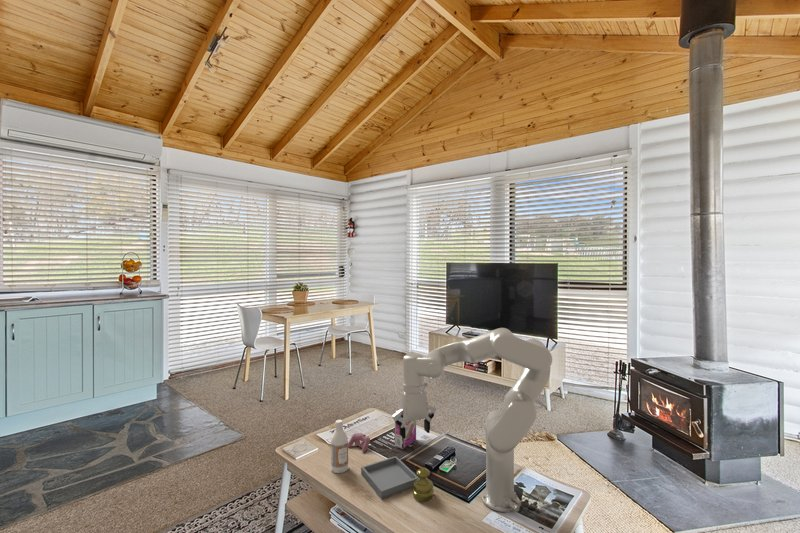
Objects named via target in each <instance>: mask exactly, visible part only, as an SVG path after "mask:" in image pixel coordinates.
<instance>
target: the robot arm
mask: <svg viewBox="0 0 800 533" xmlns="http://www.w3.org/2000/svg"><path fill="white" fill-rule="evenodd" d="M496 356H497V357H499V358H501V359H503V360H504V361H507V362H510V363H512V364H514V365H516V366H517V365H518V366H519V367H521V368H523V370H522V372H521V374H520V375H519V377H518V379H517V380H516V382H514V384H513V385H512V387H510V389H509V390H508V392H507V393H506V394H505V396H504V399H503V400H504V401H503V403H504V404H503V405H504V410H501V409H494V410H492V411H490V413H488V415H486V418H485V422H484V423H485V452H486V453H485V454H486V455H485V471H486V472H485V473H486V474H485V475H486V477H485V481H486V482H485V483H486V484H485V487H486V488H485V489H484V490H483V491H482V493H481V499H482V502H483V504H484V505H486V507H488V508H489V509H491V510H493V511H496V512H501V513H508V512H512V511H515V512H516V513H517V512H519V510H520V507H521V506H522V502H521V501H520V500H519V497H518V495H517V492H516V491H515V449H516V447H517V446H518V445H519V443H520V442H521V441H522V440H523V438H524V437H525V435H526V434H527V433H528V432H529V431H530V429H532V426H533V425H534V423H535V421H536V418H537V408H536V406H535V403H536V401H537V399H538V398H540V395H541V394H542V392H543V391H544V389H545V388H546V386H547V384H548V382H549V381H550V375H551V366H552V364H553V355H552V353H551V351H550V350H549V349H548V348H547V346H546V345H545V344H544V343H543V342H542V341H540V340H539V339H536V338H530V339H527V340H525V339H522V338H520V337H519V336H516V335H514V334H513V332H512V331H511V330H510V329H508V328H506V327H499V328H495V329H492V330H490V331H487V332H485V333H482V334H479V335H477V336H474V337H471V338H468V339H465V340H460V341H457V342H453V343H452V342H451V343H448V344H446V345H443V346H440V347H437V348H435V349H433V350H431V351H430V352H428V353H427V354H426V356H425V357H424V356H423V355H422V354H420V353H416V352H415V353H406V354H405V355H404V356H403V358H402V366H403V368H402V371H403V391H401V394H400V398H399V399H400V400H399V409H400V410H399V409H398V410H399V411H398V412H396V413H395V412H394V413H393V414H392V415H391V417H392V420H394V424H395V423H396V424H398V425H399V430H400V435H401V436H402V437H403V439H405V438H406V431H405V427H404V426H405V424H406V423H407V422H409V421H414V420H416V421H418V420H423V419H424V420H423V428H424V429H423V430H424V431H425V432H426V433H427V434H429V433H430V430H431V422H432V419H433V418H434V417H435V413H436V411H437V408H436V407H435V406H433V405H430V404H429V400H428V395H427V391H426V389H425V388H426V387H428V383H427V382H425V377H426V378H431V379H435V378H439V377H441V376H442V375H443V374H444V370H445V367H448V366H450V365H454V364H456V363H462V362H463V363H464V362H466V363H469V364H470V363H471V364H477V363H480V362H482V361H485V360H488V359H490V358H493V357H496ZM429 410H430V411H429ZM399 416H400V417H401V419H400V421H399V420H398V417H399Z"/></svg>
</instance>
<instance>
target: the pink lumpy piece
mask: <svg viewBox="0 0 800 533" xmlns="http://www.w3.org/2000/svg"><path fill="white" fill-rule="evenodd" d="M370 443H371V438H370V437H369V436H368V435H367V434H364V433H361V432H355V433H353V435H351V437H350V439H349V440H348V448H350V447H352V445H353V444H354V446H355V447H359V446H360V448H361V452H362V453H365V452H366V451H367V450H368V447H369V444H370Z"/></svg>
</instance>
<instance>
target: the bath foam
mask: <svg viewBox="0 0 800 533" xmlns="http://www.w3.org/2000/svg"><path fill="white" fill-rule="evenodd" d="M334 424H335V427H334V428H335V430H334V431H333V433H332V436H331V437H330V464H331V465H330V466H331V467H330V469H331V472H333V473H335V474H343V473H345V472H347V471H348V469H349V447H348V443H349V440H348V439H349V438H348V435H347V433H346V432H345V430H344V426H343V420H342V419H337V420H335V423H334Z"/></svg>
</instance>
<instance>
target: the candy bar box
mask: <svg viewBox="0 0 800 533" xmlns="http://www.w3.org/2000/svg"><path fill="white" fill-rule="evenodd" d="M399 410H400V408H399V409H397V410H396V411H395V410H394V411H395V412H394V414H395V413H396V412H398V411H399ZM400 419H401V417H400V416H399V417H398V420H399V421H400ZM404 427H405V431H406V438H405V439H403V437H402V436H401V435H400V430H399V425H398V424H396V423H395V422H394V447H395V448H397V449H398V448H399V449H400V450H404V449H405V448H407V447H408V446H410V445H411V444H412V443H414V442H416V441H417V420H414V421H409V422H407V423H406V424H405V426H404Z"/></svg>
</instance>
